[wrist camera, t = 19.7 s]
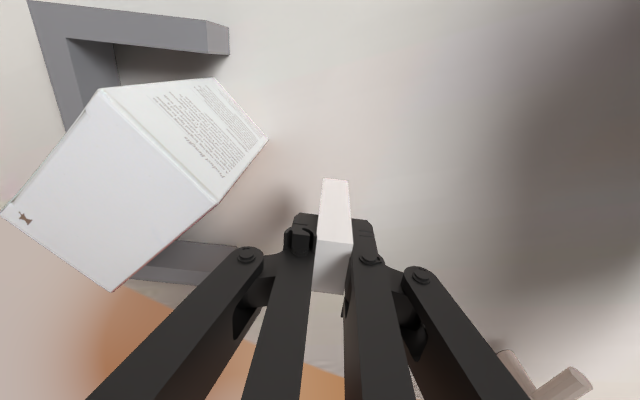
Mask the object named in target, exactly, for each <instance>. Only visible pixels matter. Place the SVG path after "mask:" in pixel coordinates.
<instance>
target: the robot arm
mask: <svg viewBox="0 0 640 400" xmlns="http://www.w3.org/2000/svg"><path fill="white" fill-rule="evenodd" d="M344 289H345V297H344V302H343V307H342V312H341V317H343V326H344V378H345V400H416V397H415V393H414V389H413V384H412V380H411V375H410V371H409V367H410V370H411V372H412V374H413V376H414V378H415V380H416V383H417V385H418V387H419V389H420V391H421V393H422V395H423V398H424V400H531V399H530V398H529V396H528V395H527V394H526V393H525V391H524V390H523V389H522V387H521V386H520V385H519V384H518V382H517V381H516V380H515V378H514V377H513V376H512V374H511V373H510V372H509V371H508V369H507V368H506V367H505V365H504V364H503V363H502V361H501V360H500V359H499V358H498V356H497V355H496V354H495V352H494V351H493V350H492V348H491V347H490V346H489V345H488V343H487V342H486V341H485V339H484V338H483V337H482V336H481V334H480V333H479V332H478V330H477V329H476V328H475V326H474V325H473V324H472V323H471V321H470V320H469V319H468V317H467V316H466V315H465V313H464V312H463V311H462V310H461V308H460V307H459V306H458V304H457V303H456V302H455V301H454V299H453V298H452V297H451V295H450V294H449V293H448V291H447V290H446V289H445V288H444V286H443V285H442V284H441V282H440V281H439V280H438V278H437V277H436V276H435V275H434V274H433V273H432V272H430V271H428V270H427V269H424V268H421V267H417V266H411V267H408V268H406V269H405V270H404V273H403V272H400V271H397V270H394V269H392V268H390V267H388V266H386V265H385V262H384V260H383V258H382V257H381V256H380V255H379V254H378V251H377V247H376V242H375V238H374V233H373V227H372V225H371V224H370V223H369V222H368V221H367V220H360V219H352V218H351V211H350V199H349V188H348V181H347V180H339V179H331V178H323V184H322V192H321V200H320V208H319V215H314V214H306V213H299V214H298V215H296V216H295V217H294V220H293V224H292V227H290V228H288V229H287V230H286V231H285V232H284V245H283V251H281V252H280V253H277V254H273V255H265V256H263V253H262V252H261V250H259V249H257V248H255V247H241V248H238V249H235V250H234V251H233V252H231V253H230V254H229V255H228V256H227V257H226V258H225V259H224V260H223V261H222V262H221V263H220V264H219V265H218V266H217V267H216V268H215V269H214V270H213V271H212V272H211V273H210V274H209V275H208V276H207V277H206V278H205V279H204V280H203V281H202V282H201V283H200V284H199V285H198V286H197V287H196V289H195V290H194V291H193V292H192V293H191V294H190V295H189V296H188V297H187V298H186V299H185V300H184V301H183V302H182V303H181V304H180V305H179V306H178V307H177V308H176V309H175V310H174V311H173V312H172V313H171V314H170V315H169V316H168V317H167V318H166V319H165V320H164V321H163V322H162V323H161V324H160V325H159V326H158V327H157V328H156V329H155V330H154V331H153V332H152V333H151V334H150V335H149V336H148V337H147V338H146V339H145V340H144V341H143V342H142V343H141V344H140V345H139V346H138V347H137V348H136V349H135V350H134V351H133V352H132V353H131V354H130V355H129V356H128V357H127V358H126V359H125V360H124V361H123V362H122V363H121V364H120V365H119V366H118V367H117V368H116V369H115V370H114V371H113V372H112V373H111V374H110V375H109V376H108V377H107V378H106V379H105V380H104V381H103V382H102V383H101V384H100V385H99V386H98V387H97V388H96V389H95V390H94V391H93V393H91V394H90V395H89V396H88V397H87V398H86V399H85V400H205V398H206V396H207V395H208V394H209V392H210V390H211V389H212V387H213V386H214V384H215V383H216V381H217V379H218V378H219V376H220V375H221V373H222V371H223V370H224V368H225V367H226V365H227V363H228V362H229V360H230V359H231V357H232V356H233V354H234V352H235V351H236V349H237V348H238V346H239V344H240V343H241V341H242V340H243V338H244V337H245V335H246V333H247V332H248V330H249V329H250V327H251V325H252V324H253V322H254V321H255V319H256V318H257V316H258V314H259V313H260V311H261V309H262V307H263V306H267V309H266V313H265V316H264V320H263V323H262V327H261V330H260V334H259V337H258V341H257V345H256V348H255V352H254V355H253V359H252V362H251V366H250V369H249V373H248V377H247V380H246V384H245V387H244V391H243V395H242V398H241V400H299V395H300V387H301V378H302V369H303V360H304V351H305V342H306V333H307V324H308V314H309V305H310V296H311V291H315V292H323V293H331V294H339V295H343V294H344ZM408 365H409V367H408Z"/></svg>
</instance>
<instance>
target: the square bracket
mask: <svg viewBox="0 0 640 400" xmlns="http://www.w3.org/2000/svg"><path fill="white" fill-rule="evenodd" d="M27 4H28V7H29V10H30V14H31V17H32V20H33V24H34V27H35V30H36V34H37V37H38V41H39V44H40V47H41V51H42V54H43V57H44V61H45V64H46V67H47V71H48V74H49V77H50V81H51V84H52V87H53V91H54V94H55V97H56V101H57V104H58V107H59V111H60V114H61V117H62V121H63V124H64V127H65V131H66V132H67V131H68V130H69V129H70V127H71V126H72V125H73V123H74V122H75V121H76V119H77V118H78V117H79V115H80V114H81V113H82V111H83V110H84V108H85V107H86V105H87V104H88V102H89V101H90V100H91V98H92V96H93V95H94V93H95V92H96V91H97V90H98V89H100V88H107V87H117V86H121V85H120V80H119V75H118V70H117V65H116V60H115V55H114V50H113V44H112V43H118V44H127V45H136V46H145V47H153V48H162V49H171V50H180V51H189V52H198V53H207V54H222V55H230V50H229V28H228V27H225V26H222V25H219V24H216V23H213V22H209V21H206V20H198V19H190V18H181V17H172V16H163V15H155V14H146V13H137V12H129V11H120V10H111V9H102V8H94V7H85V6H76V5H68V4H59V3H50V2H41V1H33V0H27ZM235 249H237V247H235V246H225V245H215V244H206V243H196V242H187V241H177V240H175V241H174V242H173V243H171V244H170V245H169V246H168V247H167V248H165V249H164V250H163V251H162V252H161V253H159V254H158V255H157V256H156V257H155V258H153V259H152V260H151V261H150V262H149V263H147V264H146V265H145V266H144V267H143V268H141V269H140V270H139V271H138V272H137V273H135V274H134V275H133V276H132V277H131V278H129V279H136V280H146V281H155V282H165V283H175V284H185V285H194V286H198V285H199V284H200V283H201V282H202V281H203V280H204V279H205V278H206V277H207V276H208V275H209V274H210V273H211V272H212V271H213V270H214V269H215V268H216V267H217V266H218V265H219V264H220V263H221V262H222V261H223V260H224V259H225V258H226V257H227V256H228V255H229V254H230V253H231V252H233V251H234V250H235Z"/></svg>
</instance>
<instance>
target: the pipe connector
mask: <svg viewBox="0 0 640 400" xmlns="http://www.w3.org/2000/svg"><path fill="white" fill-rule="evenodd" d="M497 356H498V358H499V359H500V360H501V361H502V363H503V364H504V365H505V367H506V368H507V369H508V371H509V372H510V373H511V374H512V376H513V377H514V378H515V380H516V381H517V382H518V384H519V385H520V386H521V387H522V389H523V390H524V391H525V393H526V394H527V395H528V396H529V398H530V399H531V400H577V399H578V398H580V397H582V396H583V395H585V394H586V393H588V392H589V391H591V390H592V389H593V386H592V385H591V383H590V382H589V380H588V379H587V378H586V377H585V376H584V375H583V374H582V373H581V372H579V371H578V370H577V369H575V368H573V367H568V368H567V369H565V370H564V371H562V372H561V373H560V374H558V375H557V376H555V377H554V378H553V379H551V380H550V381H548V382H547V383H546V384H544V385H543V386H541V387H540V388H539V389H536V388H535V386H534V385H533V383H532V381H531V380H530V378H529V377H528V375H527V373H526V372H525V370H524V369H523V367H522V365H521V364H520V362H519V361H518V359H517V357H516V356H515V354H514V353H513V352H512V351H510V350H504V351H501V352H499V353H498V354H497Z"/></svg>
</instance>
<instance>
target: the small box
mask: <svg viewBox="0 0 640 400" xmlns="http://www.w3.org/2000/svg"><path fill="white" fill-rule="evenodd" d="M268 140H269V139H268V138H267V136H266V135H265V134H264V133H263V132H262V131H261V130H260V128H259V127H258V126H257V125H256V124H255V123H254V122H253V120H252V119H251V118H250V117H249V116H248V115H247V114H246V112H245V111H244V110H243V109H242V108H241V107H240V106H239V105H238V103H237V102H236V101H235V100H234V99H233V98H232V97H231V96H230V94H229V93H228V92H227V91H226V90H225V89H224V88H223V87H222V86H221V84H220V83H219V82H218V81H217V80H216V79H215V78H214V77H207V78H196V79H187V80H176V81H166V82H156V83H146V84H136V85H126V86H117V87H107V88H100V89H98V90H97V91H96V92H95V93H94V95H93V96H92V98H91V100H90V101H89V102H88V104H87V105H86V107H85V108H84V110H83V111H82V113H81V114H80V115H79V117H78V118H77V119H76V121H75V122H74V123H73V125H72V126H71V127H70V129H69V130H68V131H67V132H66V134H65V135H64V136H63V137H62V139H61V140H60V141H59V143H58V144H57V145H56V146H55V148H54V149H53V150H52V151H51V153H50V154H49V155H48V156H47V158H46V159H45V160H44V161H43V163H42V164H41V165H40V166H39V168H38V169H37V170H36V171H35V172H34V174H33V175H32V176H31V177H30V179H29V180H28V181H27V182H26V183H25V185H24V186H23V187H22V188H21V189H20V190H19V192H18V193H17V194H16V195H15V196H14V197H13V198H12V199H11V200H10V201H9V202H8V203H7V204H6V205H5V206H4V207H3V208H2V209H1V210H0V216H1V217H2V218H4V219H5V220H6V221H8V222H9V223H11V224H12V225H13V226H15V227H16V228H18V229H19V230H20V231H22V232H23V233H25V234H26V235H28V236H29V237H31V238H32V239H33V240H35V241H36V242H38V243H39V244H41V245H42V246H43V247H45V248H46V249H48V250H49V251H51V252H52V253H54V254H55V255H56V256H58V257H59V258H60V259H62V260H64V261H65V262H66V263H68V264H69V265H71V266H72V267H73V268H75V269H77V270H78V271H79V272H81V273H82V274H84V275H85V276H86V277H88V278H89V279H91V280H92V281H93V282H95V283H96V284H98V285H99V286H101V287H103V288H104V289H105V290H107V291H108V292H114V291H115V290H116V289H117V288H119V287H120V286H121V285H122V284H123V283H125V282H126V281H127V280H128V279H129V278H131V277H132V276H133V275H134V274H135V273H137V272H138V271H139V270H140V269H141V268H143V267H144V266H145V265H146V264H147V263H149V262H150V261H151V260H152V259H153V258H155V257H156V256H157V255H158V254H159V253H161V252H162V251H163V250H164V249H165V248H167V247H168V246H169V245H170V244H171V243H173V242H174V241H175V240H176V239H177V238H179V237H180V236H181V235H182V234H183V233H184V232H186V231H187V230H188V229H189V228H190V227H192V226H193V225H194V224H195V223H197V222H198V221H199V220H200V219H201V218H203V217H204V216H205V215H206V214H207V213H208V212H210V211H211V210H212V209H213V208H214V207H216V206H217V205H218V204H219V203H220V202H221V201H222V199H223V198H224V197H225V195H226V194H227V193H228V192H229V190H230V189H231V188H232V186H233V185H234V184H235V183H236V181H237V180H238V179H239V178H240V176H241V175H242V174H243V172H244V171H245V170H246V168H247V167H248V165H249V164H250V163H251V162H252V161H253V159H254V158H255V157H256V156H257V155H258V153H259V152H260V151H261V149H262V148H263V147H264V145H265V144H266V143H267V142H268Z"/></svg>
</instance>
